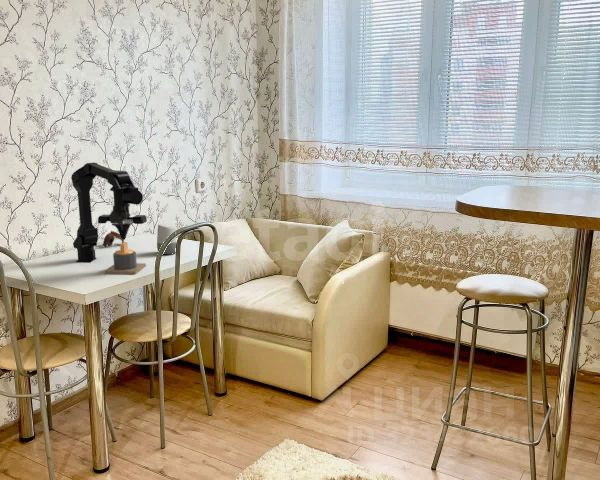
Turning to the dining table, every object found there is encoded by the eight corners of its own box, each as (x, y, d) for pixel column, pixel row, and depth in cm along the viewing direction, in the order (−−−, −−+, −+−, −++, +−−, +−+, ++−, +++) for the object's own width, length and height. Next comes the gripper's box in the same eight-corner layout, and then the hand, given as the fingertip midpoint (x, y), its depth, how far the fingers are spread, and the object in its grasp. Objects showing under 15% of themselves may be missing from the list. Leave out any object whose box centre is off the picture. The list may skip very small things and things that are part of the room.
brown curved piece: (104, 244, 298) (111, 230, 298) (121, 253, 298) (128, 238, 298) (96, 243, 286) (104, 228, 286) (114, 252, 286) (122, 237, 286)
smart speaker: (180, 254, 276) (178, 224, 273) (160, 256, 272) (158, 226, 268) (174, 250, 284) (173, 221, 281) (155, 252, 280) (153, 223, 277)
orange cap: (112, 259, 245) (111, 244, 243) (119, 255, 252) (118, 241, 250) (130, 260, 244) (129, 245, 243) (136, 256, 251) (135, 241, 250)
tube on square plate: (104, 273, 243) (103, 256, 242) (116, 265, 256) (115, 249, 254) (135, 274, 242) (134, 257, 241) (145, 266, 255) (145, 249, 253)
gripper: (90, 205, 236) (93, 243, 239) (136, 205, 235) (139, 244, 238) (102, 201, 247) (104, 237, 250) (146, 201, 245) (148, 238, 249)
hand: (123, 239), depth 246 cm, fingers closed
